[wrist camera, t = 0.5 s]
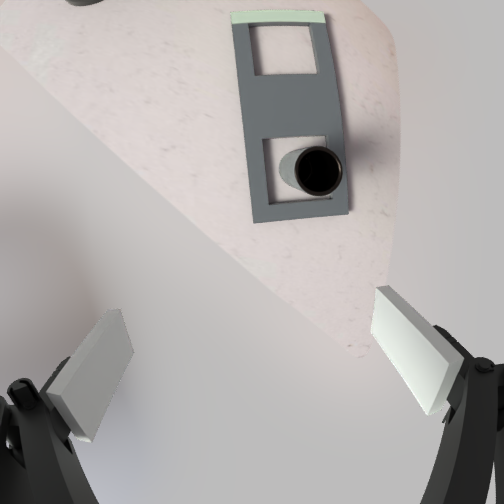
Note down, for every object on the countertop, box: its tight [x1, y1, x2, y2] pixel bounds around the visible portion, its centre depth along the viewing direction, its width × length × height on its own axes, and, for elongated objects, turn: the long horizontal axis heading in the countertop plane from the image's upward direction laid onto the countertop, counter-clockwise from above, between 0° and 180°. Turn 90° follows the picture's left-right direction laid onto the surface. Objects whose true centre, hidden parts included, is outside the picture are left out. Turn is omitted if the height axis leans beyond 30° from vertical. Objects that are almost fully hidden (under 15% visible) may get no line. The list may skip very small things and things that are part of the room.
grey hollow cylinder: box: [279, 146, 343, 196], centre depth 29 cm, size 4×4×10 cm
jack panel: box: [230, 10, 349, 223], centre depth 31 cm, size 28×12×1 cm, turn 6°
